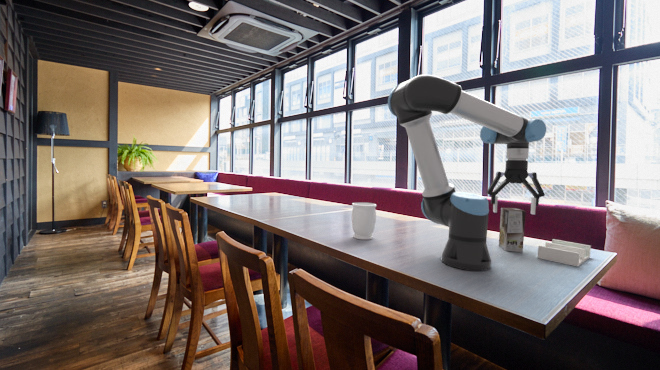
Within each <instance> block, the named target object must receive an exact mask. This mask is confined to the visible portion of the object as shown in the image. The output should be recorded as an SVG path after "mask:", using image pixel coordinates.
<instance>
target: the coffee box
mask: <svg viewBox="0 0 660 370" xmlns="http://www.w3.org/2000/svg"><path fill="white" fill-rule="evenodd" d="M526 212H527V211H525V210H523V209H521V208H516V207H501V208H500V219H499V220H500V222H499V237H498V239H499V240H498V246H499V247H500V248H502V249H503V250H504V251H505V252H515V253H523V251H524V250H523V249H524V239H525V224H526V215H527V213H526Z"/></svg>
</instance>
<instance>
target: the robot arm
mask: <svg viewBox="0 0 660 370" xmlns="http://www.w3.org/2000/svg"><path fill="white" fill-rule="evenodd" d="M387 107H388V109H389V111H390V113H391V114H392V115H393V116H394V117H397V121H398V124H399V125H400V126H402V128H403V127H404V128H405V131H406V133H407V137H408V140H409V143H410V146H411V150H412V153H413V156H414V160H415V163H416V165H417V169H418V171H419V175H420V178H421V181H422V184H423V188H424V190H423V191H422V194H421V195H422V197H423V198H422V201H421V203H420V204H421V205H420V206H421V212H422V214H423V215H424V217H425V218H426V219H427V220H429V221H430V222H433V223H434V224H437V225H442V226H444V227H448V239H447V241H446V243H445V245H444V246H445V247H444V249H443V250H442V254H441V262H442V263H443V264H445V265H447V266H450V267H452V268H455V269H460V270H465V271H473V272H474V271H476V272H477V271H487V270H490V268H491V265H492V259H491V256H490V255H491V254H490V252H489V248H488V246H487V237H488V235H487V234H488V226H489V213H490V209H489V205H490V204H492V212H493V213H494V214H495V213H498V201H499V198H498V197H499V196H497V195H498V194H499V193H500V192H501V191H503V189H505V187H506V186H507V185H508V184H522V185H523V186H524V187H525V188H526V189H527V190H528V192H529V193H530V194H531V195H532V197H531V200H530V214H531V215H532V216H533V215H536V208H537V207H538V206H539V203H540V202H539V201H540V198H542V197H545V196H546V194H545V192H544V190H543V188H542V186H541V183H540V182H539V179H538V176H537V175H538V174H537V172H533V171H532V172H528V167H529V166H528V165H529V161H528V159H529V153H530V152H529V147H530V143H533V142H539V141H541V140H543V139H544V137H545V136H546V133H547V126H546V125H547V124H546V123H545V121H543V120H542V119H541V118H530V119H529V118H525V117H523V116H522V115H521V116H520V115H519V114H517V113H514V112H512V111H510V110H508V109H505V108H503V107H500V106H499V105H496V104H494V103H493V102H489V101H487V100H484V99H482V98H480V97H478V96H476V95H474V94H472V93H469V92H467V91H464V90H463V88H462V86H461V85H459V84H457V83H455V82H453V81H452V80H448V79H445V78H443V77H439V76H438V75H433V74H419V75H416V76H414V77H412V78H410V79H408V80H406V81H403V82H401V83H398V84H397V85H396V86H395V87H393V89H392V90H391V91H390V92H389V95H388V98H387ZM433 112H438V113H440V114H443V115H448V114H452V115H454V116H457V117H460V118H461V119H464V120H467V121H469V122H471V123H473V124H477V125H479V126H482V127H481V129H480V133H479V137H480V140H481V142H482V143H484V144H489V145H493V144H494V145H495V144H496V145H497V144H498V145H506V155H505V156H506V157H505V159H506V160H505V170H504V172H502V171H496V173H495V177H494V179H493V181H492V182H491V184H490V185H489V187H488V189H487V190H486V194H487V195H490V197H491V198H490V204H489V200H488V198H487V197H485V196H483V195H480V194H477V193H472V192H466V191H465V192H464V191H456V187H455V185H454V184H452V183H450V182H449V181H448V177H447V174H446V170H445V168H444V167H445V166H444V164H443V161H442V158H441V157H442V156H441V154H440V152H439V151H440V150H439V148H438V144H437V141H436V137H435V134H434V131H433V128H432V124H431V121H430V118H431V117H432V115H433ZM502 177H504V178H505V179H504V180H503V181H502V182H501V183H500V185H498V186H497V184H498V183H499V181H500V179H501V178H502ZM528 177H529V178H530V179H531V182H532V183H533V185H534V187H535V188H533V187H532V185H531V184H530V182H529V181H527V178H528ZM496 186H497V187H496Z"/></svg>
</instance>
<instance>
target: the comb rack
mask: <svg viewBox="0 0 660 370" xmlns="http://www.w3.org/2000/svg"><path fill="white" fill-rule="evenodd" d="M537 247H538V248H537V259H540V260H546V261H551V262H555V263H559V264H564V265H569V266H574V267H580V266H581V265H582V264H584V263H585V262H586V261H588V260H589V259H590V258H591V249H592V245H589V244H584V243H578V242H572V241H566V240H561V239H555V238H552V240H551V242H545V245H537Z"/></svg>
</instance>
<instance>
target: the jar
mask: <svg viewBox="0 0 660 370" xmlns="http://www.w3.org/2000/svg"><path fill="white" fill-rule="evenodd" d="M351 206H352V210H351V224H352V225H351V226H352V231H353V238H354V239H357V240H361V241H362V240H363V241H366V240H372V239H373V237H374V236H373V235H372V234H373V233H374V231H375V227H376V226H375V225H376V223H377V212H376V208H377V207H378V206H377V204H376V203H373V202H365V201H364V202H363V201H362V202H359V201H358V202H352V203H351Z"/></svg>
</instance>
